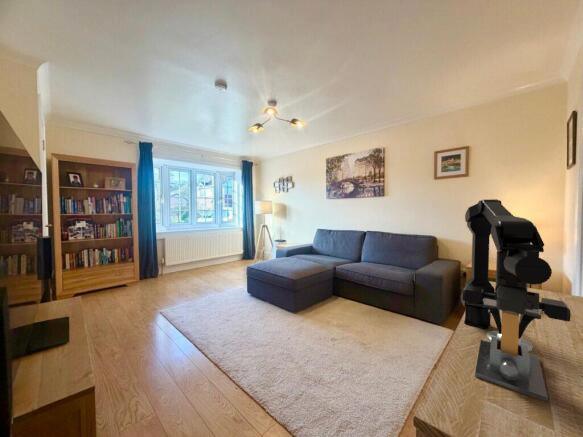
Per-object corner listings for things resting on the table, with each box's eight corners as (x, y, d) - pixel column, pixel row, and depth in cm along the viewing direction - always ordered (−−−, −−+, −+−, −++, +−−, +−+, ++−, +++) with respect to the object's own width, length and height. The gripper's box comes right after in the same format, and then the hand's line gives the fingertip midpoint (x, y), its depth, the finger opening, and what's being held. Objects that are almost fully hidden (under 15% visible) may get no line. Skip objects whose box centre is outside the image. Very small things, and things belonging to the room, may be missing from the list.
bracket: (475, 376, 58) (475, 351, 58) (480, 342, 73) (481, 322, 73) (547, 402, 51) (548, 374, 50) (537, 358, 65) (538, 336, 65)
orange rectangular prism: (500, 353, 59) (502, 312, 59) (500, 345, 62) (502, 307, 62) (517, 358, 58) (519, 316, 57) (516, 350, 61) (518, 310, 60)
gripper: (460, 272, 59) (458, 336, 60) (578, 289, 47) (574, 368, 48) (465, 264, 68) (464, 320, 68) (566, 276, 55) (563, 344, 56)
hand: (509, 335), depth 60 cm, fingers closed on orange rectangular prism, 3 cm apart
